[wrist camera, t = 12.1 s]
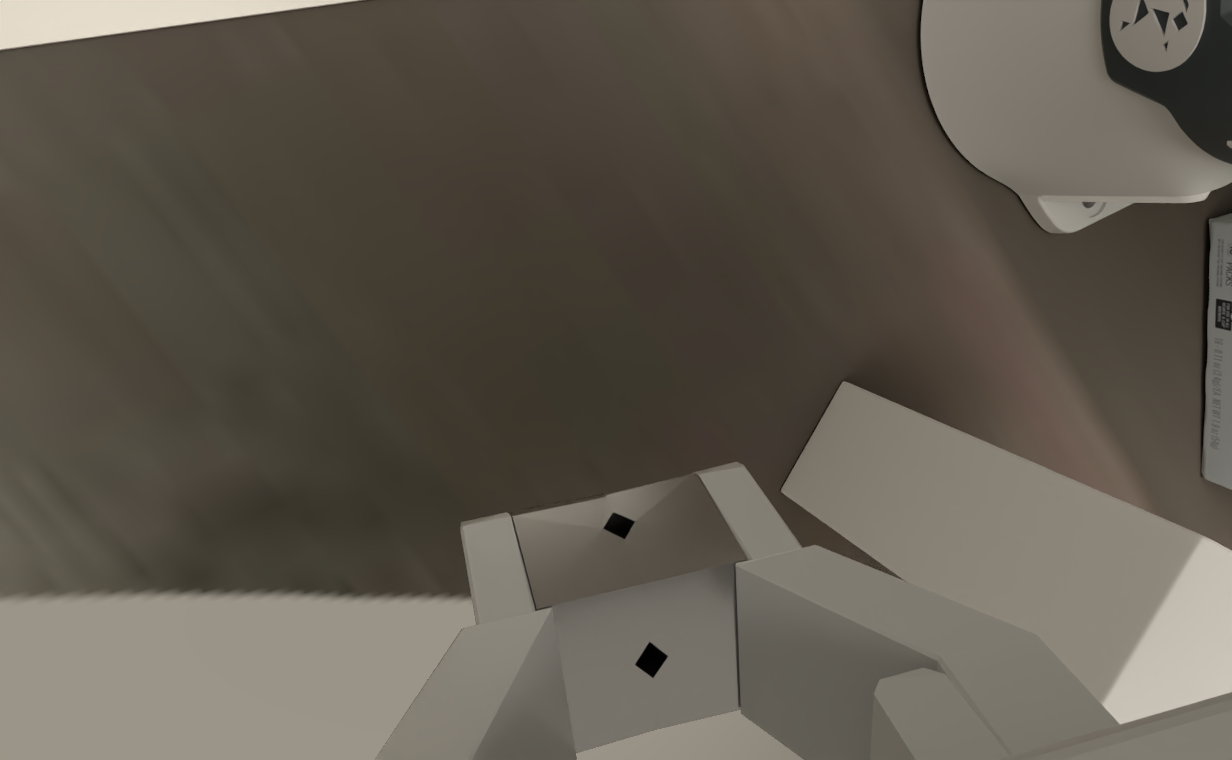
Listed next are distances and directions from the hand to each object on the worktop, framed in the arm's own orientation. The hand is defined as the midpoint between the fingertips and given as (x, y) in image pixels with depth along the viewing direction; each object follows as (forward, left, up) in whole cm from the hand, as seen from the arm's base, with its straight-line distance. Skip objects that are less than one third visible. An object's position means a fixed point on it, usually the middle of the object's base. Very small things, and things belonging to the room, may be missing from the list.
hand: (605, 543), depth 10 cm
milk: (-19, +14, -28) cm, 37 cm away
